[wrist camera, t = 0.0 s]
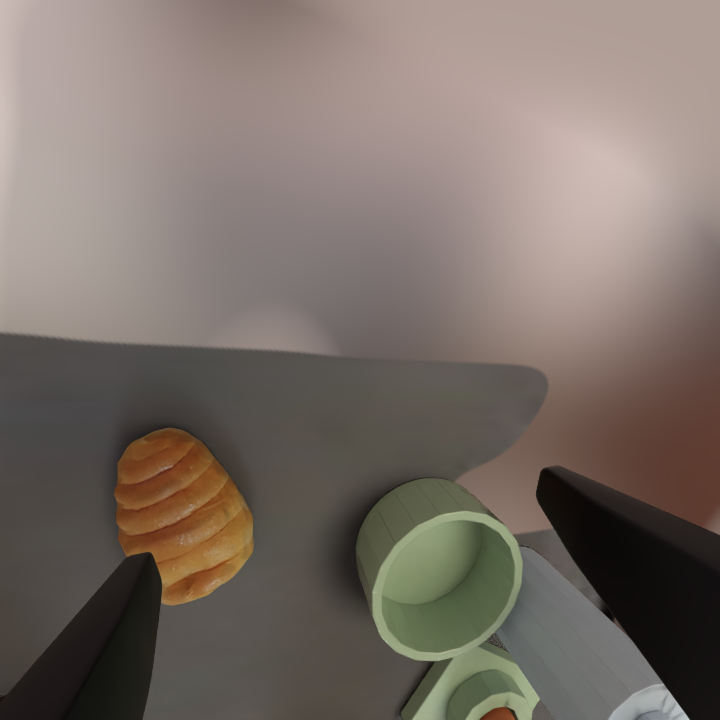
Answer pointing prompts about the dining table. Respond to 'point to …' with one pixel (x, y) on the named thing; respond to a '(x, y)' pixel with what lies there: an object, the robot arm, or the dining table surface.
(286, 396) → the dining table surface
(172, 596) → the pastry
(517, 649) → the bottle
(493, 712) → the button
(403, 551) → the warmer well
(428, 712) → the panel
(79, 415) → the dining table surface
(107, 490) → the dining table surface
